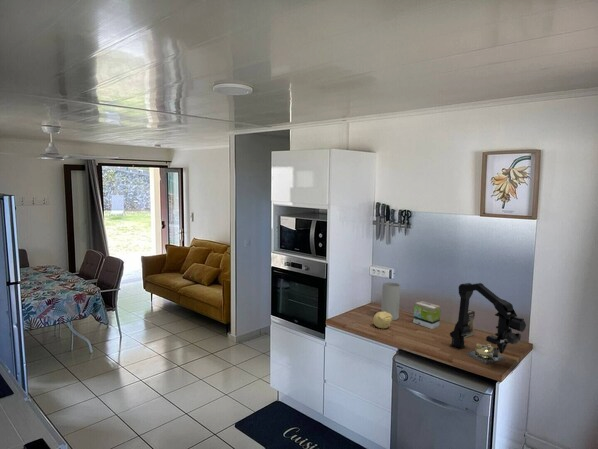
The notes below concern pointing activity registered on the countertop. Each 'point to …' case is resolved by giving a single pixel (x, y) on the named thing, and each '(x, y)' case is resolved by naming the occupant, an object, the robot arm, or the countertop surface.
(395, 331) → the countertop surface
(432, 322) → the tea box
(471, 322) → the coffee box
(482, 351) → the yellow-green irregular lump
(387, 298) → the cylinder vase
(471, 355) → the mounting plate
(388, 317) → the yellow crumpled ball
